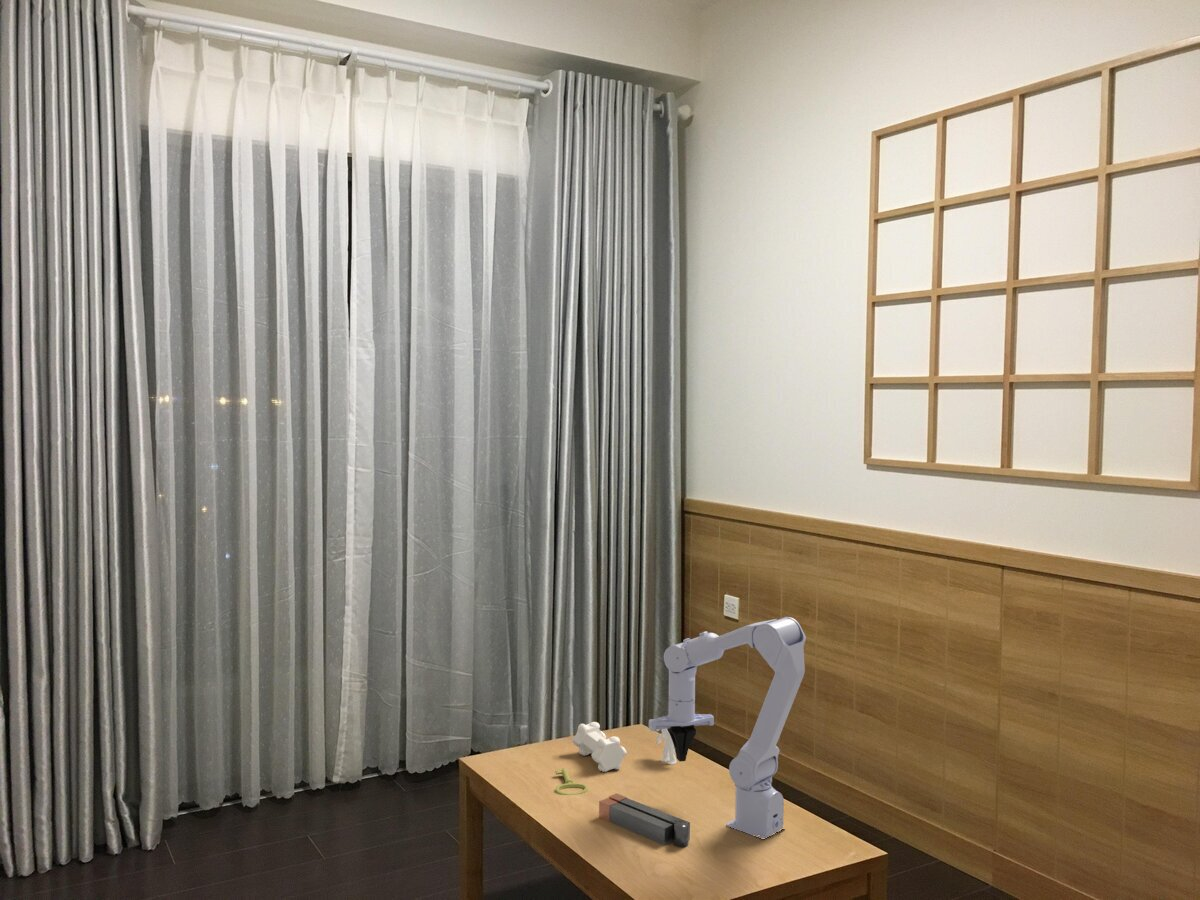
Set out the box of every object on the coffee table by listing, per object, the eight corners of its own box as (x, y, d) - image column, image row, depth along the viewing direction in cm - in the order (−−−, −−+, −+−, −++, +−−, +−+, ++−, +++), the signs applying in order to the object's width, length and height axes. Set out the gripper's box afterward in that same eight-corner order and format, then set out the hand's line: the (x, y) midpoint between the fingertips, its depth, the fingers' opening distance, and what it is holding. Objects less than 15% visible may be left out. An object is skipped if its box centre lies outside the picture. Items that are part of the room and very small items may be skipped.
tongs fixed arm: (672, 842, 191) (672, 824, 191) (664, 846, 189) (664, 828, 189) (607, 814, 204) (607, 797, 204) (599, 818, 202) (599, 801, 202)
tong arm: (695, 841, 191) (695, 822, 191) (682, 848, 188) (682, 829, 188) (616, 809, 206) (616, 792, 206) (602, 815, 203) (603, 797, 203)
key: (564, 775, 226) (564, 766, 226) (591, 794, 216) (591, 785, 216) (537, 781, 223) (537, 772, 222) (563, 801, 212) (563, 791, 212)
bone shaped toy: (572, 756, 240) (569, 724, 239) (603, 748, 243) (600, 717, 243) (596, 777, 226) (594, 744, 226) (629, 768, 230) (627, 735, 229)
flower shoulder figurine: (687, 765, 233) (688, 716, 232) (675, 768, 230) (675, 719, 230) (662, 754, 240) (663, 706, 239) (650, 757, 237) (651, 709, 237)
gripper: (705, 690, 216) (704, 750, 216) (644, 695, 212) (643, 756, 212) (718, 699, 209) (717, 761, 210) (655, 704, 205) (654, 767, 205)
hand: (681, 759), depth 210 cm, fingers closed
